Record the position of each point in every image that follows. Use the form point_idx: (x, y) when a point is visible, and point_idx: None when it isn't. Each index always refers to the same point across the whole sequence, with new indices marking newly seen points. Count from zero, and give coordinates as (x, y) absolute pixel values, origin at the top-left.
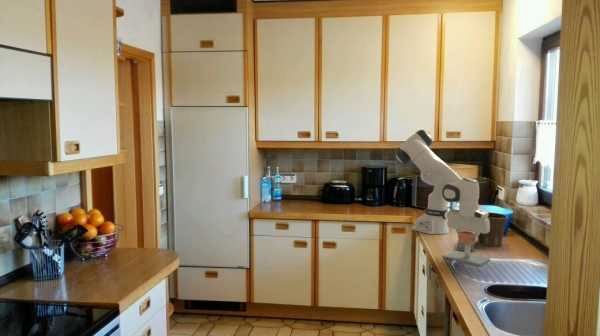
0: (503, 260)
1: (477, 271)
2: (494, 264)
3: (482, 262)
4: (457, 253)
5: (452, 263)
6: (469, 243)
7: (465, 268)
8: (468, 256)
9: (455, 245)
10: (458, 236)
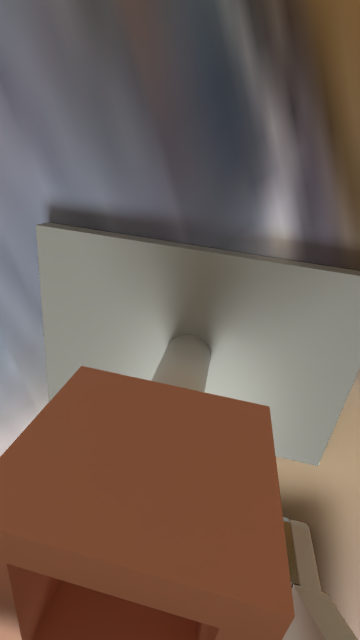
0: (10, 432)
1: (5, 52)
2: (7, 334)
3: (44, 282)
4: (284, 413)
5: (276, 156)
6: (87, 378)
7: (120, 68)
8: (169, 346)
9: (339, 590)
10: (298, 541)
